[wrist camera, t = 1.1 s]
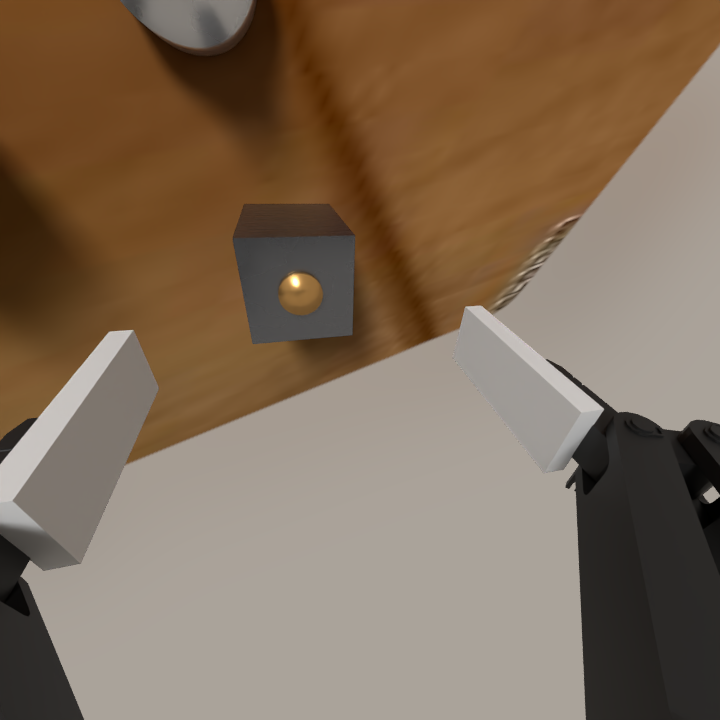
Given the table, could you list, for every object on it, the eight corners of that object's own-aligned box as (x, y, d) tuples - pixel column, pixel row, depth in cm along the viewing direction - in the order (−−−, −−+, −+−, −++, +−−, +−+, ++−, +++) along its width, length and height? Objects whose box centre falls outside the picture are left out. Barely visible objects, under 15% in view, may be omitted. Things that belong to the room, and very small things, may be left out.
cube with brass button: (257, 285, 26) (252, 346, 18) (244, 203, 22) (231, 239, 15) (330, 281, 27) (353, 337, 20) (328, 203, 23) (356, 237, 16)
